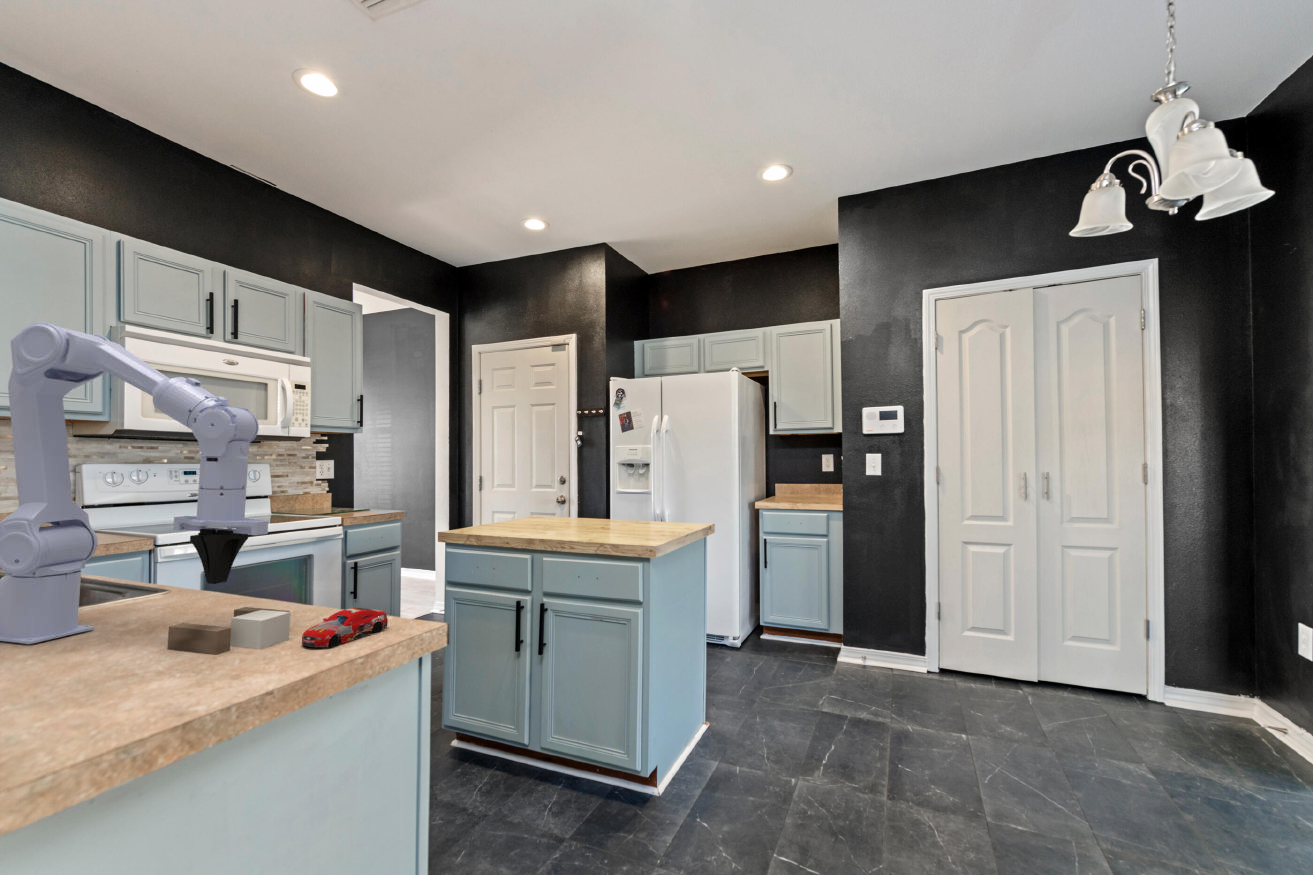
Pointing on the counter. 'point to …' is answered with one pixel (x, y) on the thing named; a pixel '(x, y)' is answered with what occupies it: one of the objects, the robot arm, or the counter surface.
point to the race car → (345, 627)
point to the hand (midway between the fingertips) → (216, 582)
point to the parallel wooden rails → (204, 635)
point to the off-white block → (260, 629)
